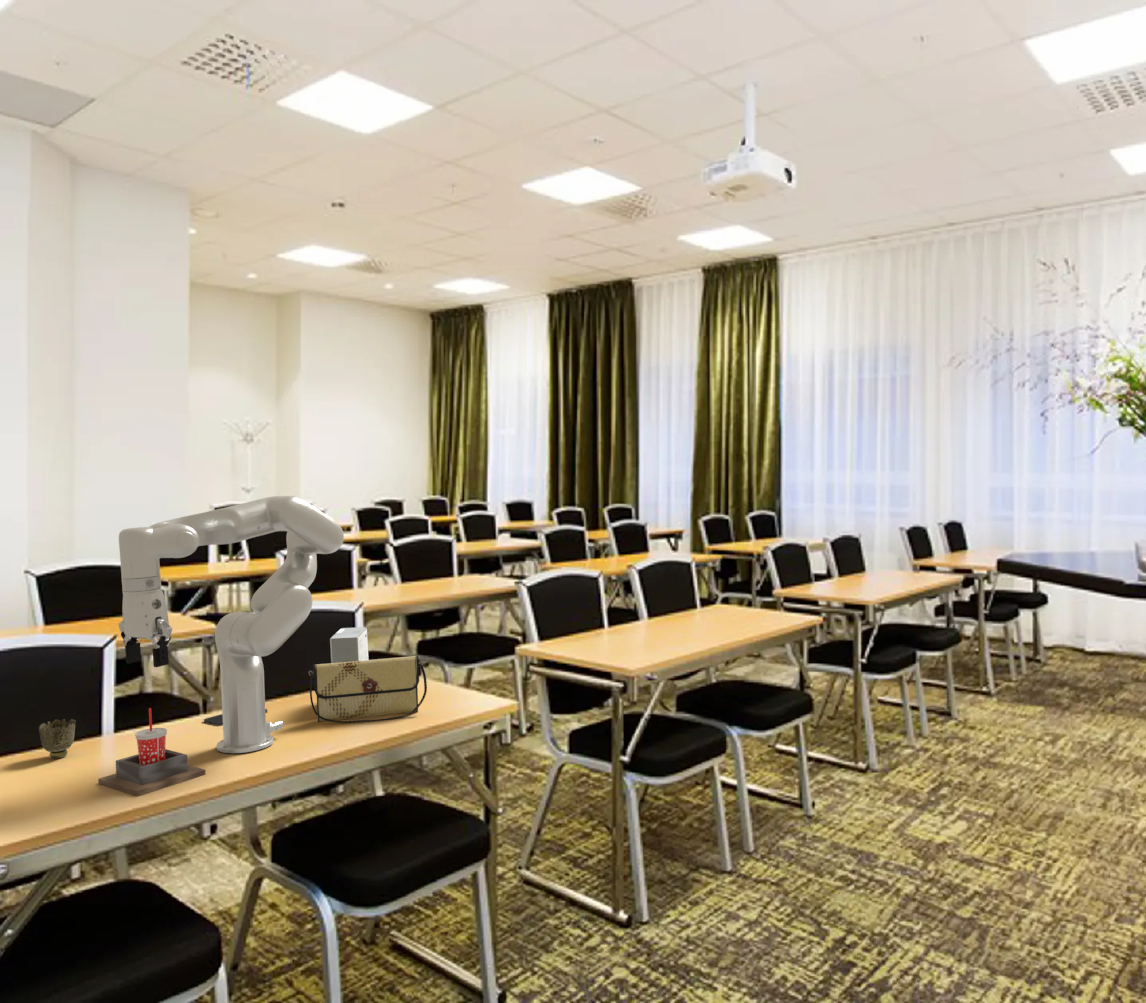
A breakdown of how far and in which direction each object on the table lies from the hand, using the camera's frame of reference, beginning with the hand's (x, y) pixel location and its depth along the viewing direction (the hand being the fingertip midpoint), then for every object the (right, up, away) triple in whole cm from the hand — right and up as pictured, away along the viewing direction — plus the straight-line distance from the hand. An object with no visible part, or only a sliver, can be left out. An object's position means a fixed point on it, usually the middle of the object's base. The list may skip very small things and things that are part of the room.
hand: (147, 664), depth 193 cm
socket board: (+3, -24, -3) cm, 24 cm away
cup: (-27, -24, +14) cm, 39 cm away
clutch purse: (+39, -22, +40) cm, 60 cm away
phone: (+2, -23, +45) cm, 50 cm away
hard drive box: (+30, -21, +56) cm, 67 cm away
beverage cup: (+3, -23, -3) cm, 23 cm away
